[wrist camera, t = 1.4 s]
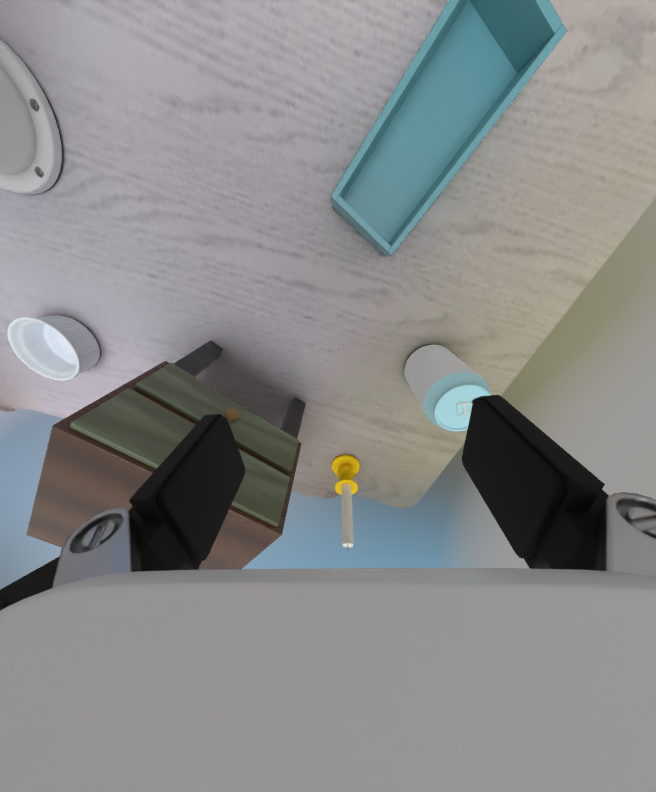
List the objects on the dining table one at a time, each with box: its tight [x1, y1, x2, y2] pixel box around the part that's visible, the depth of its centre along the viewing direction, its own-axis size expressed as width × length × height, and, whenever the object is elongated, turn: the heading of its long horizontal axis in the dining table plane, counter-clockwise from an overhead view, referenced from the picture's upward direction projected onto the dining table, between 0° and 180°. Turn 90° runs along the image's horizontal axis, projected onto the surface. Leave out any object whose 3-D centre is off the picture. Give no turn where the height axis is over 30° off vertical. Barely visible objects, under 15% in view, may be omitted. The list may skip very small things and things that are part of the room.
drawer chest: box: [27, 341, 305, 570], centre depth 31 cm, size 17×18×22 cm
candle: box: [332, 455, 360, 547], centre depth 39 cm, size 5×5×16 cm
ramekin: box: [7, 315, 100, 381], centre depth 35 cm, size 9×9×4 cm
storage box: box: [331, 0, 567, 256], centre depth 23 cm, size 18×8×5 cm, turn 142°
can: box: [404, 345, 491, 431], centre depth 31 cm, size 7×7×12 cm
